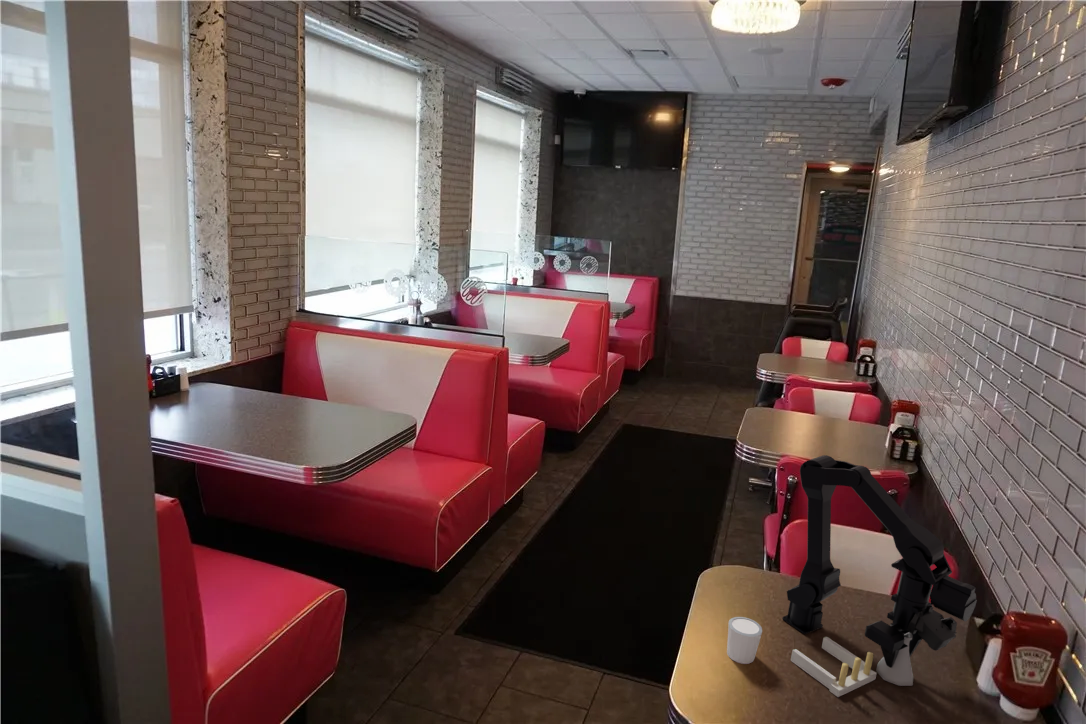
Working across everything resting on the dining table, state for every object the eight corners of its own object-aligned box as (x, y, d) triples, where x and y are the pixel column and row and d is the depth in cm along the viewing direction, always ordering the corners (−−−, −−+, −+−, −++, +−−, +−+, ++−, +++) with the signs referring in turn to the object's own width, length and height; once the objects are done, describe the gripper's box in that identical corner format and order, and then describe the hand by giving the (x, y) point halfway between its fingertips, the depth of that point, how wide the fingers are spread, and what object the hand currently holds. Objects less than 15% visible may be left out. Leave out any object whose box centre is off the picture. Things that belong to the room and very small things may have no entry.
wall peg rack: (788, 661, 152) (793, 636, 150) (826, 645, 158) (830, 621, 157) (837, 697, 142) (843, 670, 141) (875, 679, 148) (881, 653, 147)
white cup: (759, 651, 154) (764, 622, 153) (754, 670, 148) (759, 640, 146) (727, 641, 157) (732, 612, 155) (720, 658, 151) (725, 629, 149)
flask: (918, 690, 146) (928, 647, 144) (880, 683, 147) (889, 640, 145) (908, 668, 153) (918, 626, 151) (871, 661, 154) (881, 619, 152)
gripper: (924, 629, 134) (907, 701, 138) (978, 605, 144) (961, 673, 148) (870, 598, 143) (855, 666, 147) (925, 577, 153) (909, 642, 157)
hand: (897, 662), depth 149 cm, fingers closed on flask, 5 cm apart
